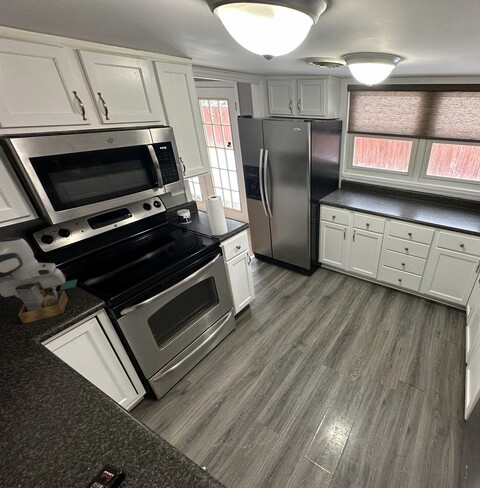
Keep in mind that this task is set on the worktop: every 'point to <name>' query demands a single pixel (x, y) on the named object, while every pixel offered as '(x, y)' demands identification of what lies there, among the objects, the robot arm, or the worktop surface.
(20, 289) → the coffee box
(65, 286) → the mat
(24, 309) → the holder
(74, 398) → the worktop surface
